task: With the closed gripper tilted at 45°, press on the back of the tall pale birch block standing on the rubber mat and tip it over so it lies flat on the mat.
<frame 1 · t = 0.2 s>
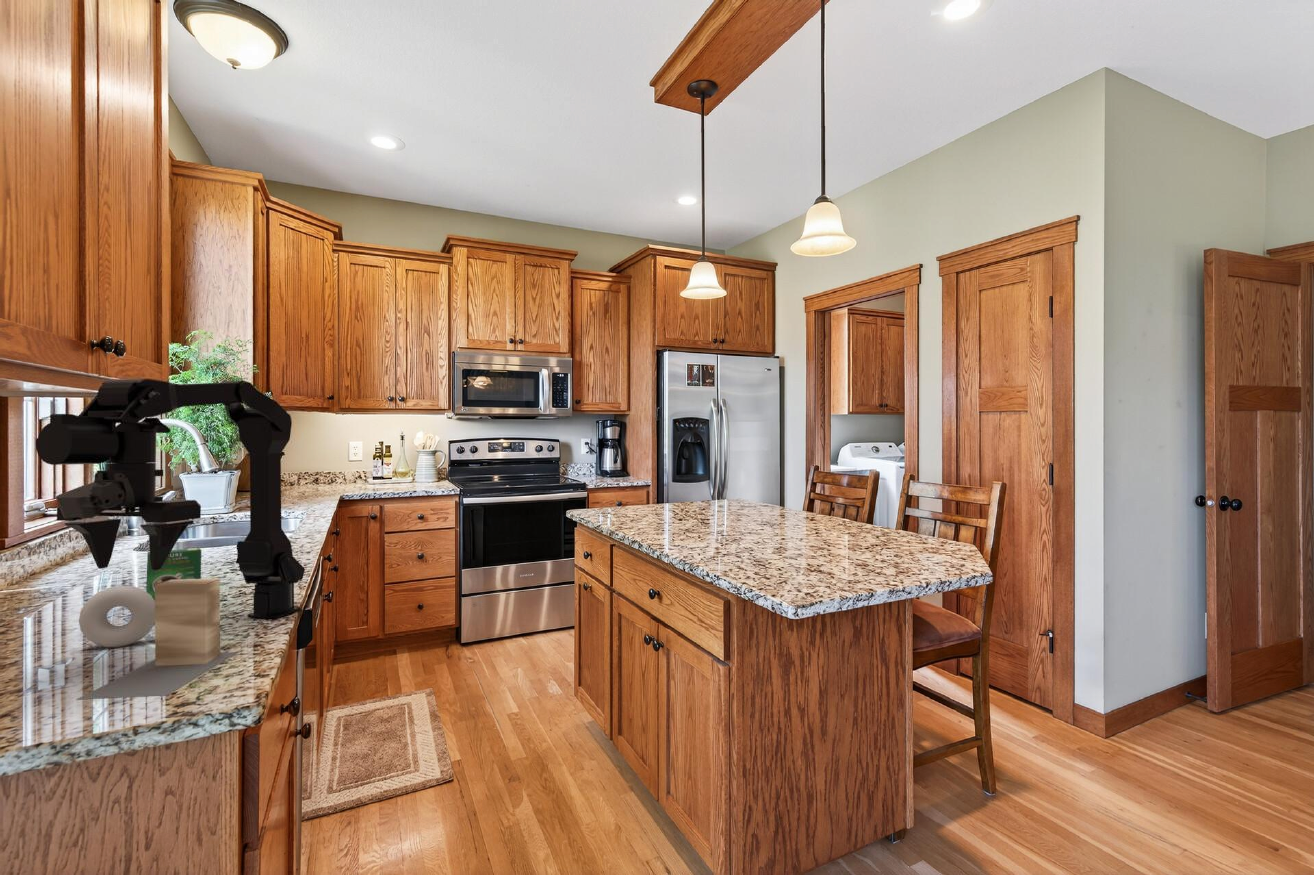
hand: (129, 569, 89), 15 cm above the worktop, tool pointing down, fingers open, 9 cm apart
coffee box: (174, 620, 114), on the worktop
rubber mat: (165, 674, 87), on the worktop
birch block: (188, 660, 92), resting on rubber mat
donut: (119, 648, 99), on the worktop
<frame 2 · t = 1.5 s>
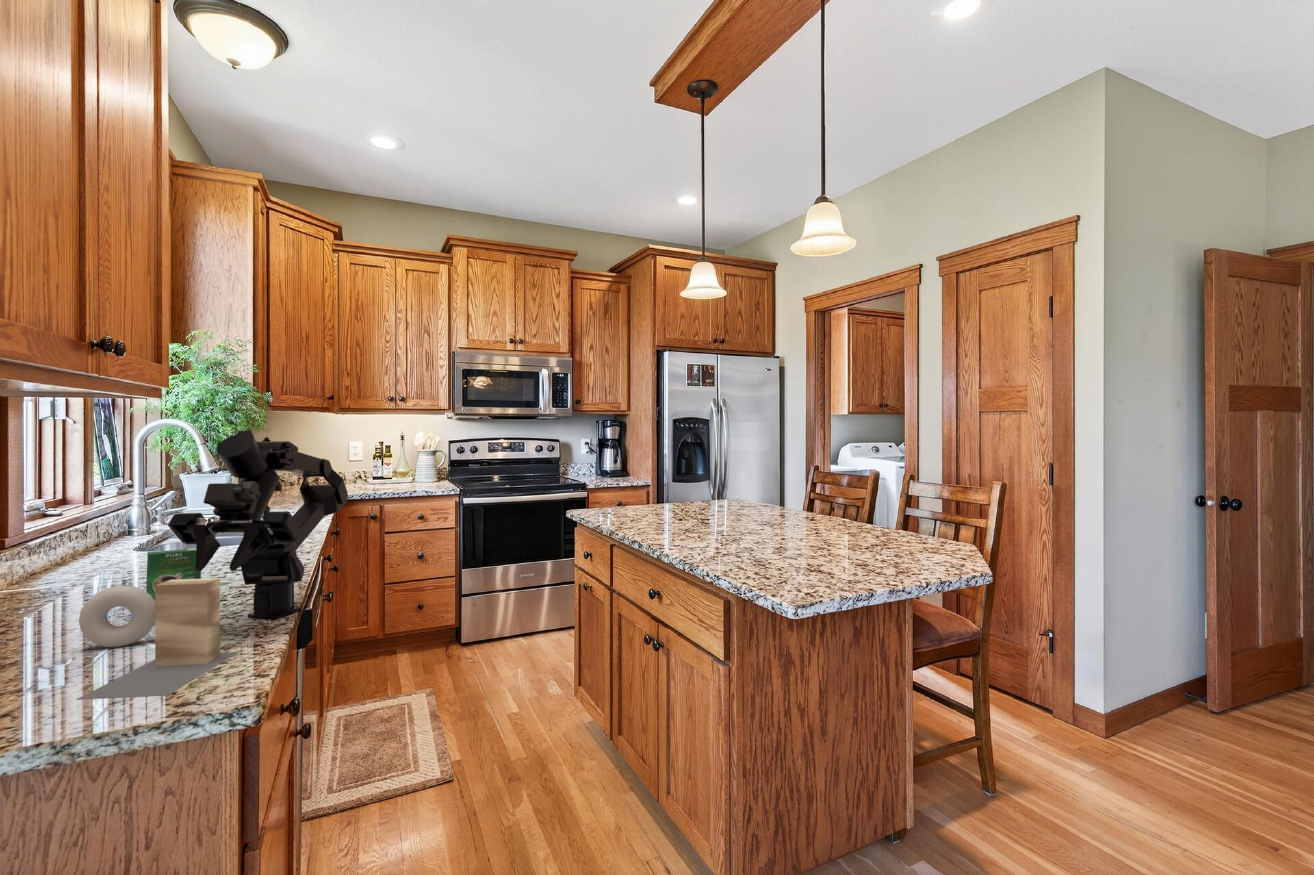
hand: (214, 569, 99), 13 cm above the worktop, tool tilted 45°, fingers open, 5 cm apart
nothing on the worktop moved.
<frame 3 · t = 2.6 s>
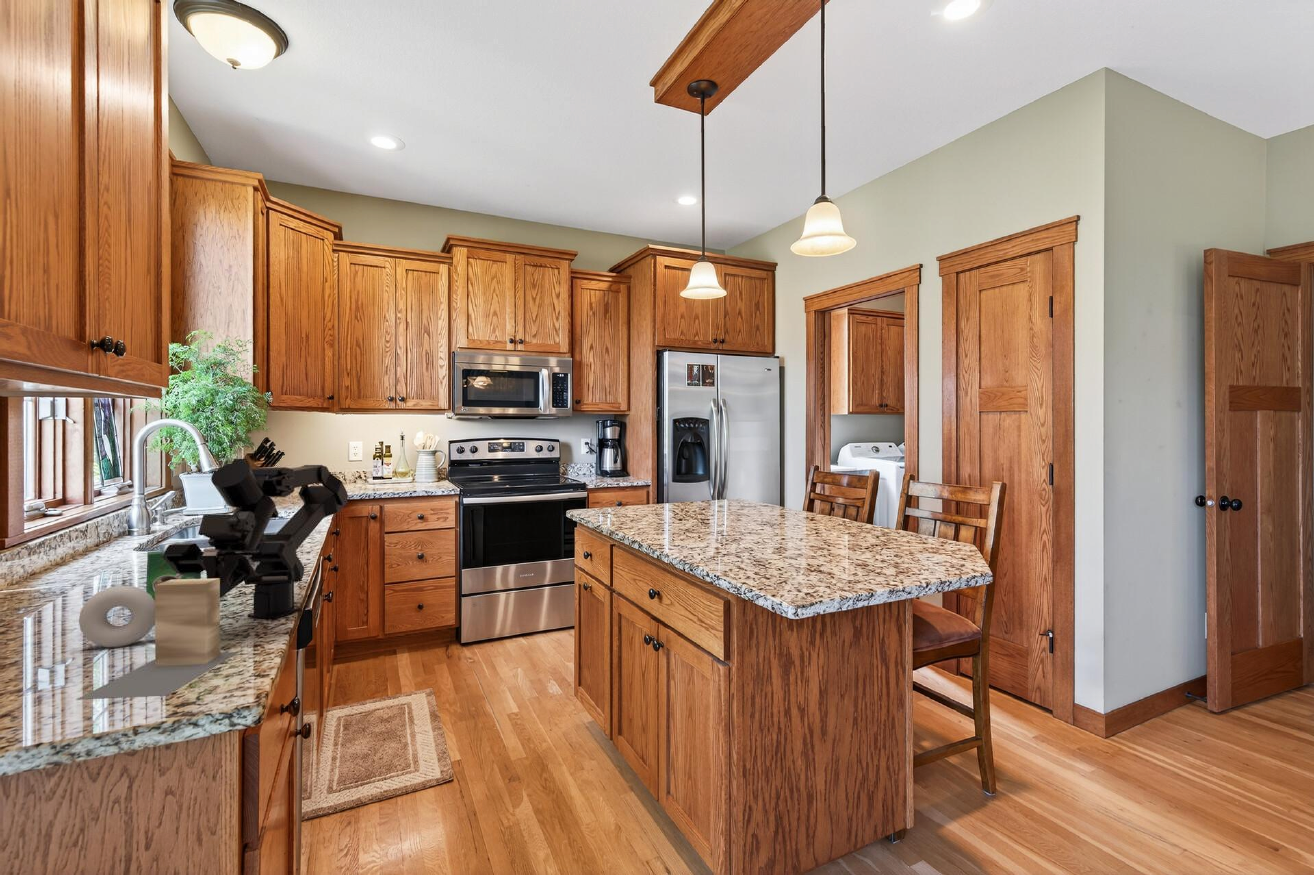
hand: (209, 602, 97), 8 cm above the worktop, tool tilted 45°, fingers closed
nothing on the worktop moved.
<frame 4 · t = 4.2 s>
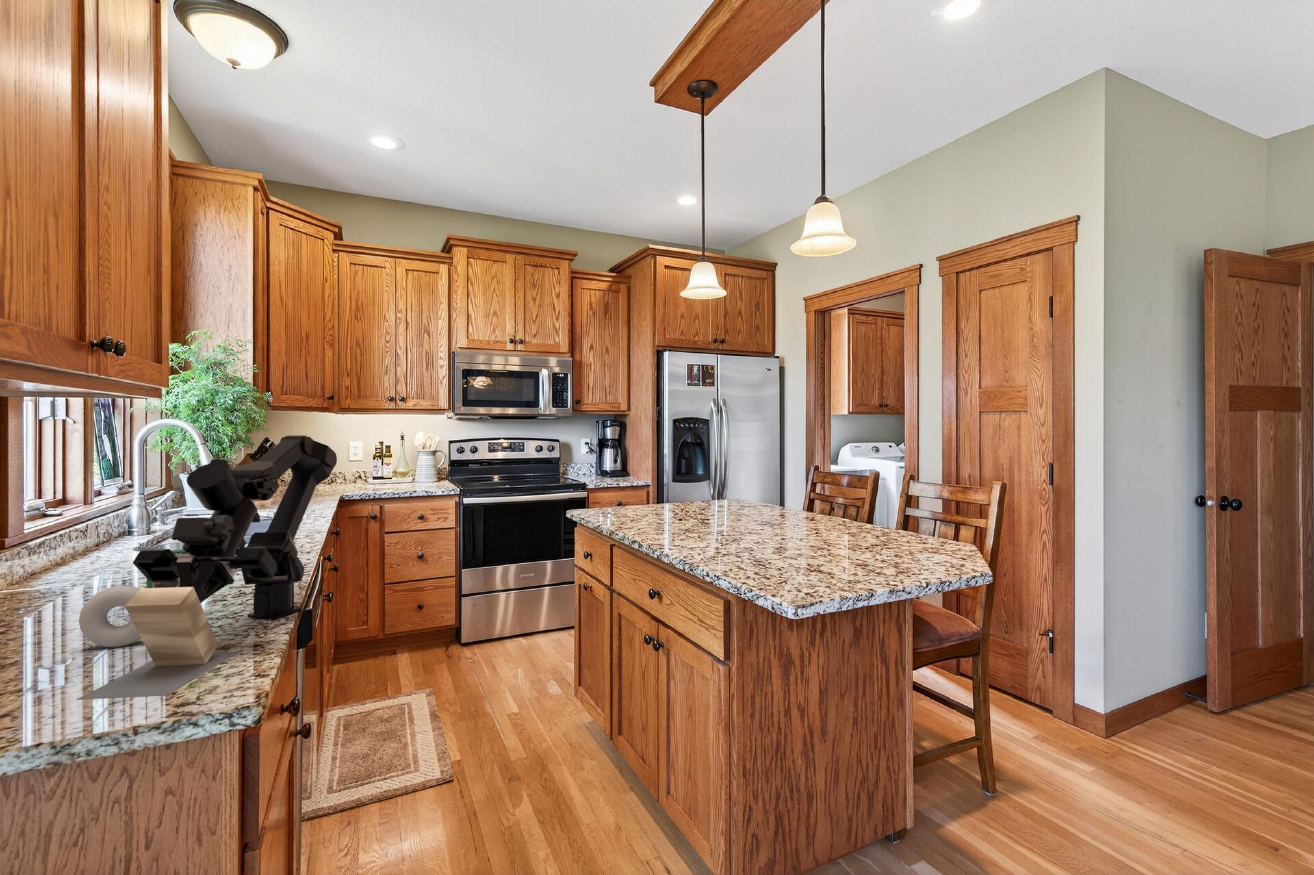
hand: (182, 612, 91), 8 cm above the worktop, tool tilted 45°, fingers closed
birch block: (187, 655, 92), point 1 cm above the worktop, tilted 29°, touching rubber mat
everything else where it was.
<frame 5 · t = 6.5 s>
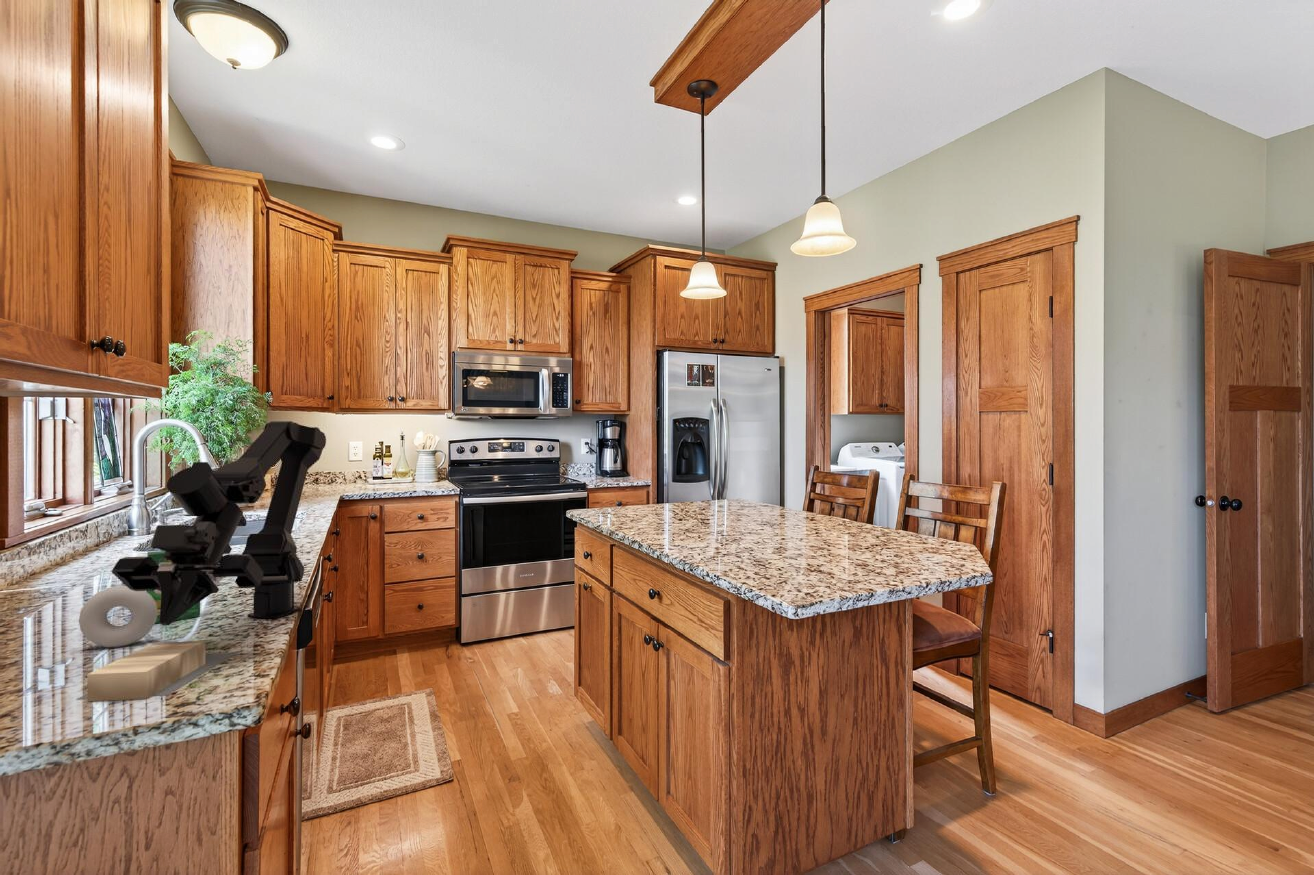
hand: (163, 624, 87), 7 cm above the worktop, tool tilted 45°, fingers closed
birch block: (180, 653, 90), point 2 cm above the worktop, tilted 90°, touching rubber mat
everything else where it was.
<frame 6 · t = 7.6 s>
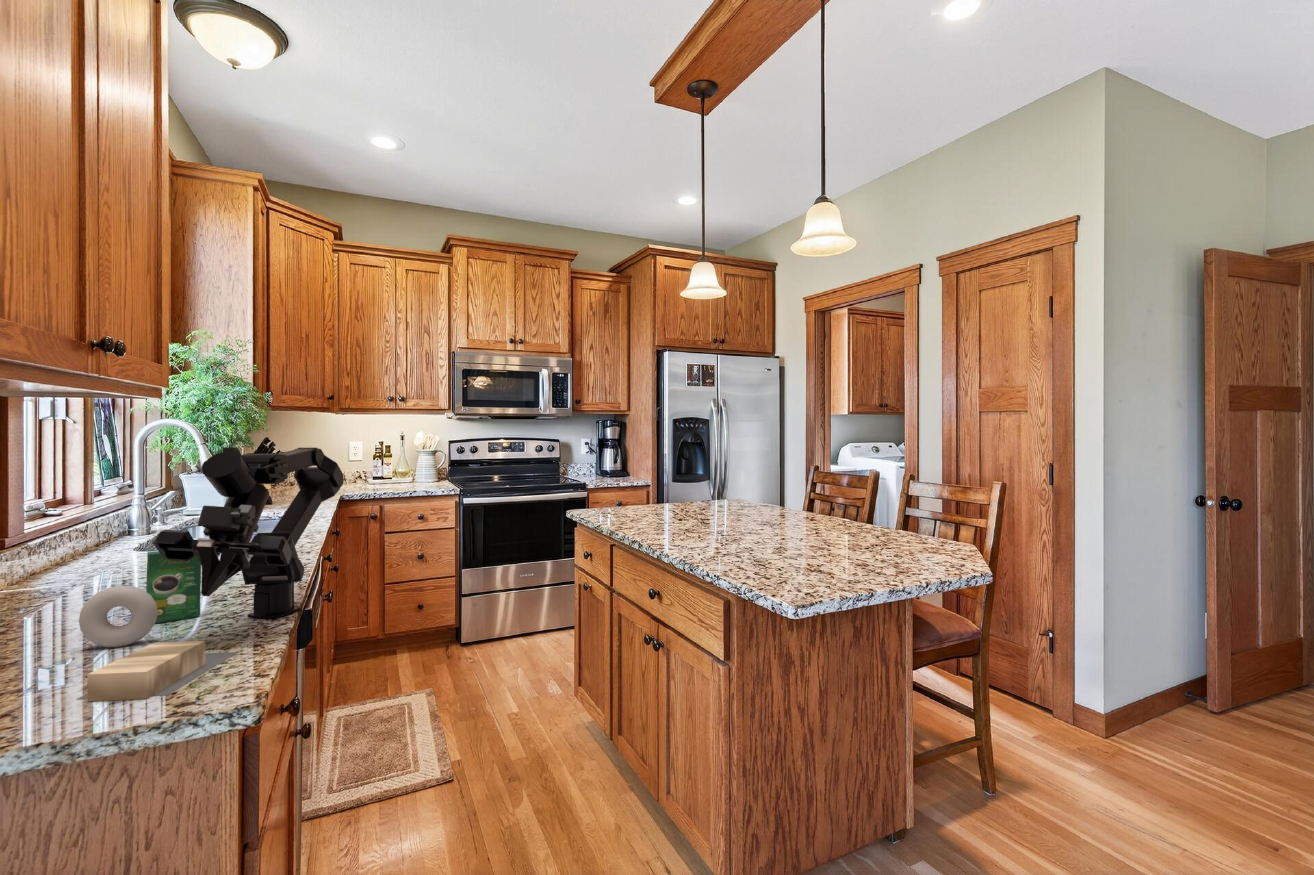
hand: (205, 595, 96), 9 cm above the worktop, tool tilted 40°, fingers closed
nothing on the worktop moved.
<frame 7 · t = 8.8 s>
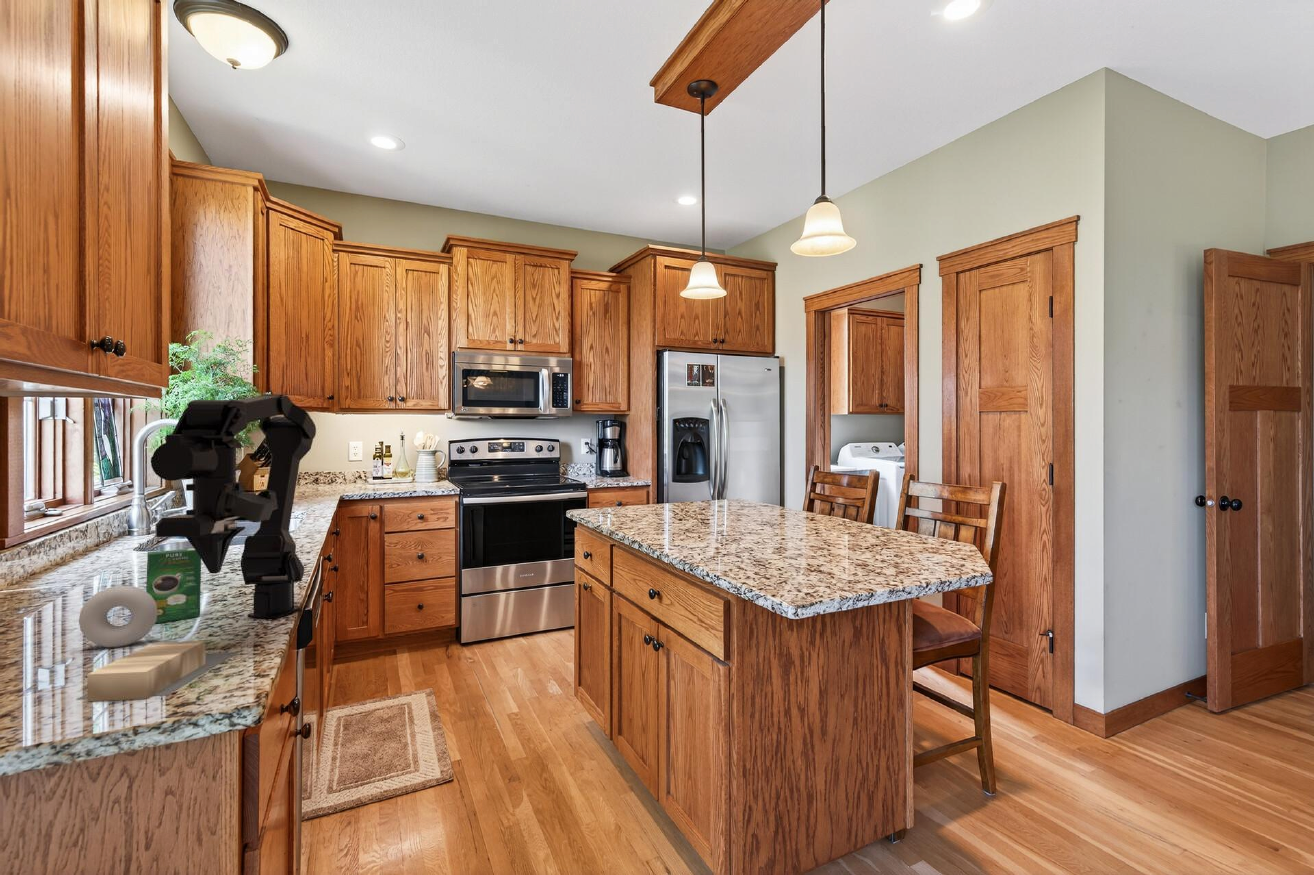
hand: (215, 573, 98), 12 cm above the worktop, tool pointing down, fingers closed
nothing on the worktop moved.
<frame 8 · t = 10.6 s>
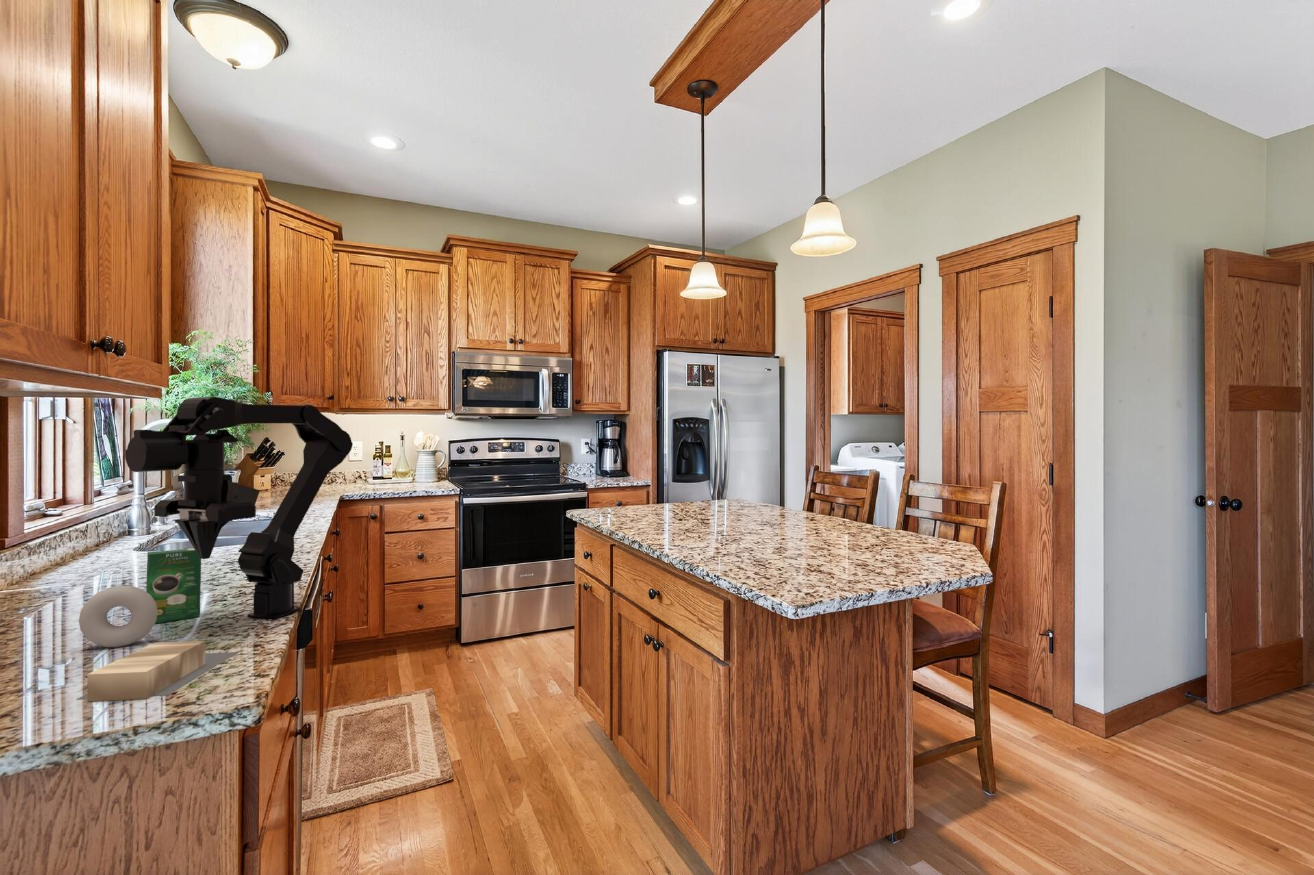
hand: (205, 558, 105), 13 cm above the worktop, tool pointing down, fingers closed
nothing on the worktop moved.
at the end: birch block tilted 90°; birch block touching rubber mat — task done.
